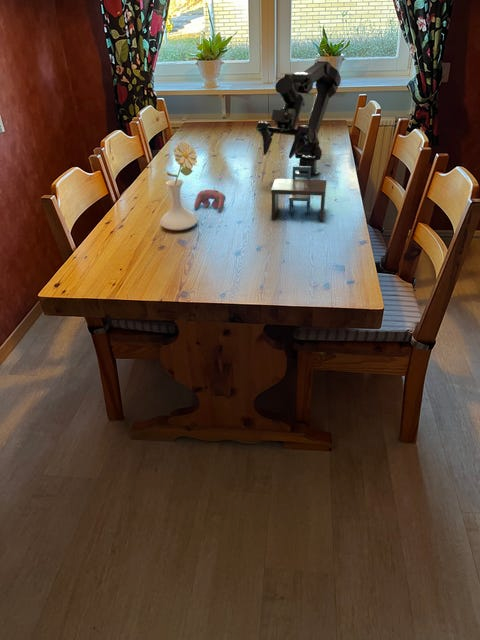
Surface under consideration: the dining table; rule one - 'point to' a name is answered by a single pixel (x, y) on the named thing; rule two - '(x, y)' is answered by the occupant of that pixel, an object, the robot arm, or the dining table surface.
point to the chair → (300, 197)
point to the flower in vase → (178, 214)
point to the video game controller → (210, 194)
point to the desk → (298, 191)
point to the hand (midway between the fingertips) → (276, 156)
